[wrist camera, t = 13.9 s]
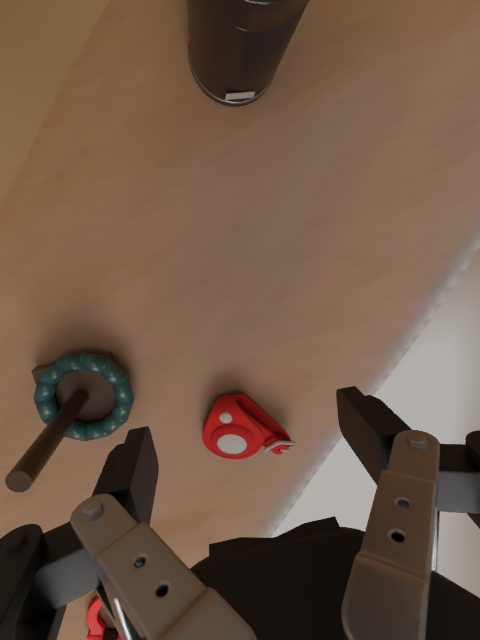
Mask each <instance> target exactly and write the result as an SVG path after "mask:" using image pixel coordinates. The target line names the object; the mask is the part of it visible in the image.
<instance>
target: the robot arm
mask: <svg viewBox="0 0 480 640" xmlns="http://www.w3.org/2000/svg"><path fill="white" fill-rule="evenodd" d="M308 1H309V0H187V8H188V29H189V30H188V31H189V43H188V52H189V63H190V67H191V71H192V74H193V76H194V78H195V80H196V82H197V84H198V85H199V87H200V88H201V89H202V90H203V91H204V93H205V94H207V95H208V96H209V97H210V98H211V99H213V100H215V101H216V102H218V103H221V104H224V105H228V106H242V105H246V104H249V103H251V102H253V101H255V100H257V99H258V98H259V97H260V96H262V95H263V94H264V92H265V91H266V90H267V89H268V87H269V86H270V84H271V82H272V80H273V78H274V75H275V73H276V69H277V67H278V65H279V63H280V61H281V59H282V57H283V54H284V52H285V50H286V48H287V46H288V44H289V42H290V39H291V37H292V35H293V33H294V31H295V29H296V27H297V24H298V22H299V20H300V18H301V16H302V14H303V12H304V10H305V7H306V5H307V3H308ZM336 397H337V408H338V419H339V426H340V429H341V432H342V435H343V436H344V438H345V439H346V441H347V442H348V444H349V445H350V447H351V448H352V450H353V451H354V453H355V454H356V455H357V457H358V458H359V460H360V461H361V463H362V464H363V466H364V467H365V469H366V470H367V471H368V473H369V474H370V476H371V477H372V478H373V480H374V482H375V483H376V485H377V490H376V494H375V497H374V501H373V505H372V508H371V512H370V516H369V520H368V523H367V527H366V531H365V532H364V531H361V530H357V529H353V528H347V527H339V524H338V522H337V520H336V518H335V517H331V518H326V519H322V520H317V521H312V522H308V523H304V524H302V525H300V526H298V527H296V528H294V529H292V530H290V531H288V532H286V533H284V534H282V535H279V536H277V537H274V538H245V537H240V538H236V539H231V540H227V541H222V542H218V543H213V544H209V557H207V558H205V559H203V560H201V561H200V562H198V563H197V564H196V565H194V566H193V567H192V568H191V569H189V568H188V567H187V566H186V565H185V564H184V563H183V562H182V561H181V559H180V558H179V557H178V556H177V555H176V554H175V553H174V552H173V551H172V550H171V549H170V548H169V546H168V545H167V544H166V543H165V542H164V541H163V540H162V539H161V538H160V537H159V536H158V535H157V533H156V532H155V531H154V530H153V529H152V528H151V527H150V526H149V525H150V519H151V513H152V508H153V502H154V496H155V490H156V485H157V479H158V472H159V468H158V459H157V455H156V451H155V447H154V444H153V440H152V436H151V432H150V429H149V427H148V426H146V427H141V428H136V429H131V430H129V432H128V434H127V437H126V440H125V443H124V444H119V445H117V446H116V447H115V448H114V449H113V450H112V451H111V452H110V453H109V455H108V457H107V460H106V462H105V465H104V467H103V470H102V473H101V474H100V477H99V479H98V482H97V484H96V487H95V489H94V491H93V494H92V496H91V497H90V498H88V499H86V500H85V501H83V502H82V503H81V504H80V505H78V506H77V507H76V509H75V510H74V511H73V513H72V515H71V517H70V521H69V522H68V523H66V524H64V525H61V526H59V527H57V528H55V529H52V530H50V531H48V532H46V533H44V534H43V532H42V529H41V527H40V526H39V525H36V524H28V525H24V526H21V527H18V528H16V529H14V530H12V531H11V532H9V533H8V534H6V535H5V536H4V537H2V538H1V539H0V640H56V639H57V636H58V633H59V629H60V626H61V623H62V619H63V616H64V613H65V610H66V606H67V603H69V602H71V601H73V600H74V599H76V598H78V597H80V596H82V595H84V594H86V593H88V592H90V591H91V590H93V589H95V592H96V594H97V595H98V597H99V599H100V601H101V602H102V604H103V606H104V608H105V610H106V611H107V613H108V615H109V617H110V618H111V620H112V622H113V624H114V626H115V627H116V629H117V631H118V633H119V635H120V637H121V639H122V640H480V598H479V597H477V596H475V595H474V594H472V593H471V592H469V591H467V590H466V589H464V588H462V587H460V586H459V585H457V584H455V583H454V582H452V581H450V580H449V579H447V578H445V577H444V576H442V575H440V574H439V573H437V561H438V541H439V521H440V511H443V512H459V513H467V514H468V515H469V517H470V518H471V519H472V520H473V521H474V523H475V524H476V525H477V526H478V527H479V528H480V431H474V432H471V433H469V434H468V435H467V436H466V445H462V444H440V443H439V441H438V440H437V439H436V438H435V437H434V436H432V435H431V434H428V433H426V432H423V431H418V430H412V429H411V428H410V427H409V426H408V425H407V424H405V423H404V422H403V421H402V420H401V419H400V418H399V417H398V416H397V415H396V414H394V413H393V411H392V410H391V409H390V408H388V406H386V405H385V403H383V402H382V401H381V400H380V399H378V398H376V397H373V396H371V395H367V396H364V395H363V394H362V393H361V392H360V391H359V390H358V389H357V388H356V387H355V386H352V387H347V388H342V389H337V392H336Z"/></svg>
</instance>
